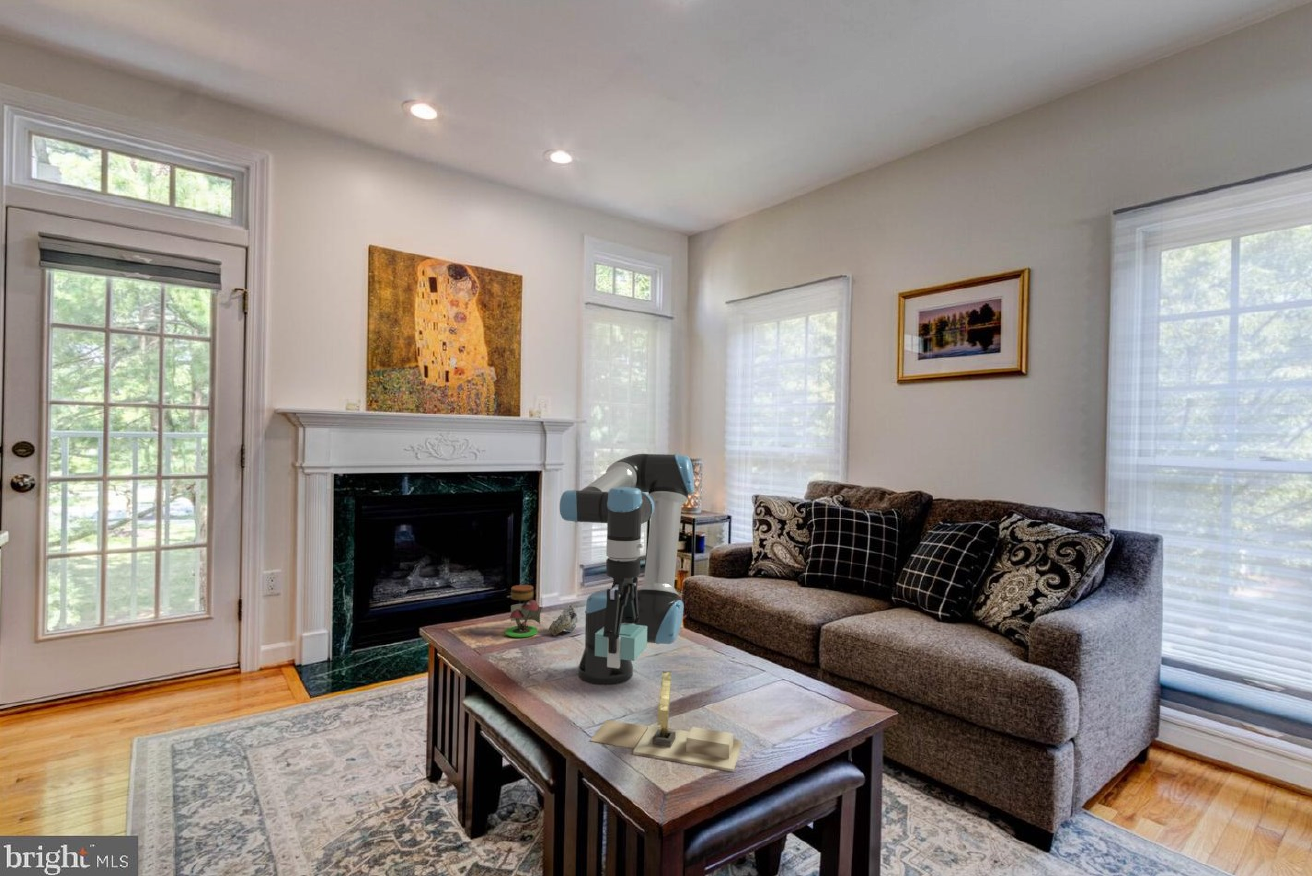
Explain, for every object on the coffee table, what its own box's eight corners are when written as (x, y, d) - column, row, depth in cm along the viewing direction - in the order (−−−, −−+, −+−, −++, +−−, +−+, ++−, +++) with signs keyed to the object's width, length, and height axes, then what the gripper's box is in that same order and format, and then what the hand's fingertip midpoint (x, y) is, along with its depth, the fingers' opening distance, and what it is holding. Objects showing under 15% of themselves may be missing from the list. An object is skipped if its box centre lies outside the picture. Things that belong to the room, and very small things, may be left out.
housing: (633, 754, 126) (633, 737, 126) (650, 727, 138) (650, 712, 138) (733, 772, 120) (733, 754, 120) (742, 743, 132) (742, 727, 132)
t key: (666, 765, 121) (667, 710, 121) (656, 764, 121) (657, 710, 121) (670, 718, 141) (671, 671, 141) (661, 718, 141) (662, 671, 141)
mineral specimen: (555, 618, 196) (541, 610, 204) (557, 642, 196) (544, 633, 204) (581, 609, 201) (567, 601, 209) (584, 633, 202) (569, 624, 210)
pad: (590, 741, 131) (590, 740, 131) (606, 720, 141) (606, 719, 141) (633, 749, 128) (633, 748, 128) (647, 727, 138) (648, 726, 138)
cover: (594, 655, 132) (595, 632, 132) (609, 642, 140) (610, 620, 140) (634, 661, 129) (634, 637, 129) (646, 647, 138) (647, 625, 138)
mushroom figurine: (538, 638, 196) (539, 592, 196) (499, 637, 196) (500, 591, 196) (545, 627, 208) (546, 583, 208) (508, 626, 208) (509, 582, 208)
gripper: (622, 569, 123) (620, 680, 123) (653, 550, 144) (651, 645, 144) (588, 566, 125) (586, 675, 125) (624, 548, 146) (622, 641, 146)
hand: (621, 659), depth 135 cm, fingers closed on cover, 9 cm apart
